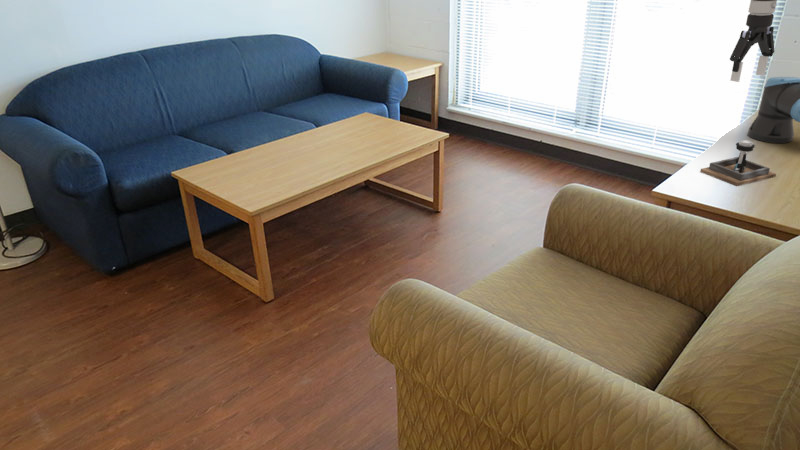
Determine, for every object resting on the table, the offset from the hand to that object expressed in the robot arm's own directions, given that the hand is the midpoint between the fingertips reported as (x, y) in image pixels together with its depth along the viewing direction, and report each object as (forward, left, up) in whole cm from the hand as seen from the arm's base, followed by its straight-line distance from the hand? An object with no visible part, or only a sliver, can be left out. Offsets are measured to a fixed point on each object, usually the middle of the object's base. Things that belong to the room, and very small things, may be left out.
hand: (747, 78), depth 206 cm
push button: (+18, +17, -26) cm, 35 cm away
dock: (+18, +17, -26) cm, 36 cm away
